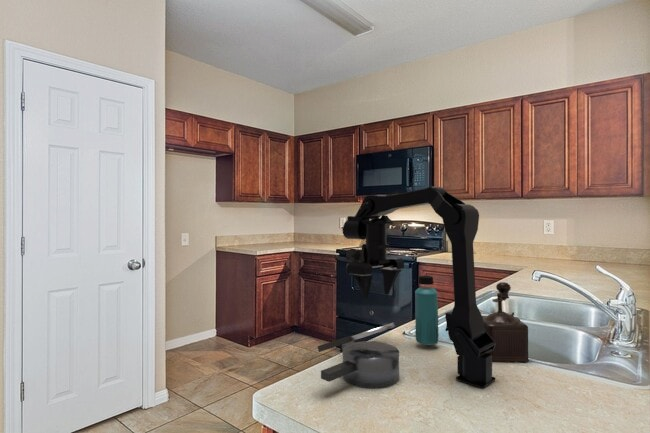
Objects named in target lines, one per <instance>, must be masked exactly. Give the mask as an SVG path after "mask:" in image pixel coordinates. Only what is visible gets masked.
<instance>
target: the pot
mask: <svg viewBox="0 0 650 433" xmlns="http://www.w3.org/2000/svg"><path fill="white" fill-rule="evenodd" d="M341 350H342V362H341V363H338V364H335V365H332V366H330V367H328V368H325V369H322V370H320V379H322V380H324V381H326V382H328V383H329V382H332V381H335V380H337V379H339V378H341V377H342V378H343V380H344V381H345V382H346V383H348V384H349V385H352V386H354V387H357V388H363V389H384V388H388V387H392V386H394V385H396V384H397V383H399V380H400V351H399V349H398V348H397V347H396V346H395V345H392V344H389V343H386V342H381V341H373V340H371V341H369V340H367V341H364V340H362V341H355V340H354V341H351V342H348V343H345V344H342V345H341Z"/></svg>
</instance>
